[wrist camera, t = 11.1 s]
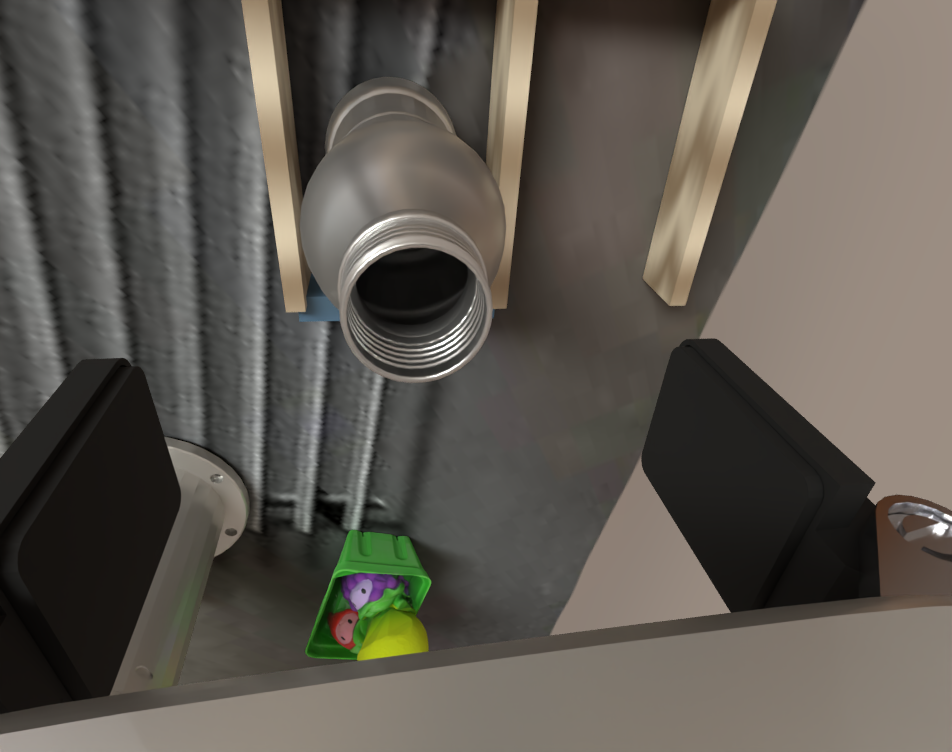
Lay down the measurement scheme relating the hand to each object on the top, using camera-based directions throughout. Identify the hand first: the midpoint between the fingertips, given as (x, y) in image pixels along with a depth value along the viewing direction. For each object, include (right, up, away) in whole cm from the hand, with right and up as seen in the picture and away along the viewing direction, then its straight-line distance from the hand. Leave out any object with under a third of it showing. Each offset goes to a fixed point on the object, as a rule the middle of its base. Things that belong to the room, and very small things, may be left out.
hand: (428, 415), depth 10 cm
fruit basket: (-8, -16, +38) cm, 42 cm away
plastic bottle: (-4, +13, +19) cm, 24 cm away
